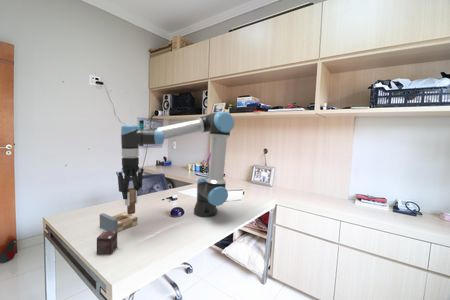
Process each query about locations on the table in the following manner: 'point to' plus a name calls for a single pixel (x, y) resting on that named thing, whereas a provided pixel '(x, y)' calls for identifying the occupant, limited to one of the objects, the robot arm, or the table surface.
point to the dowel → (131, 201)
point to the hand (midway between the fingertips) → (131, 203)
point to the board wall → (108, 223)
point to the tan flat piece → (125, 221)
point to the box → (106, 243)
